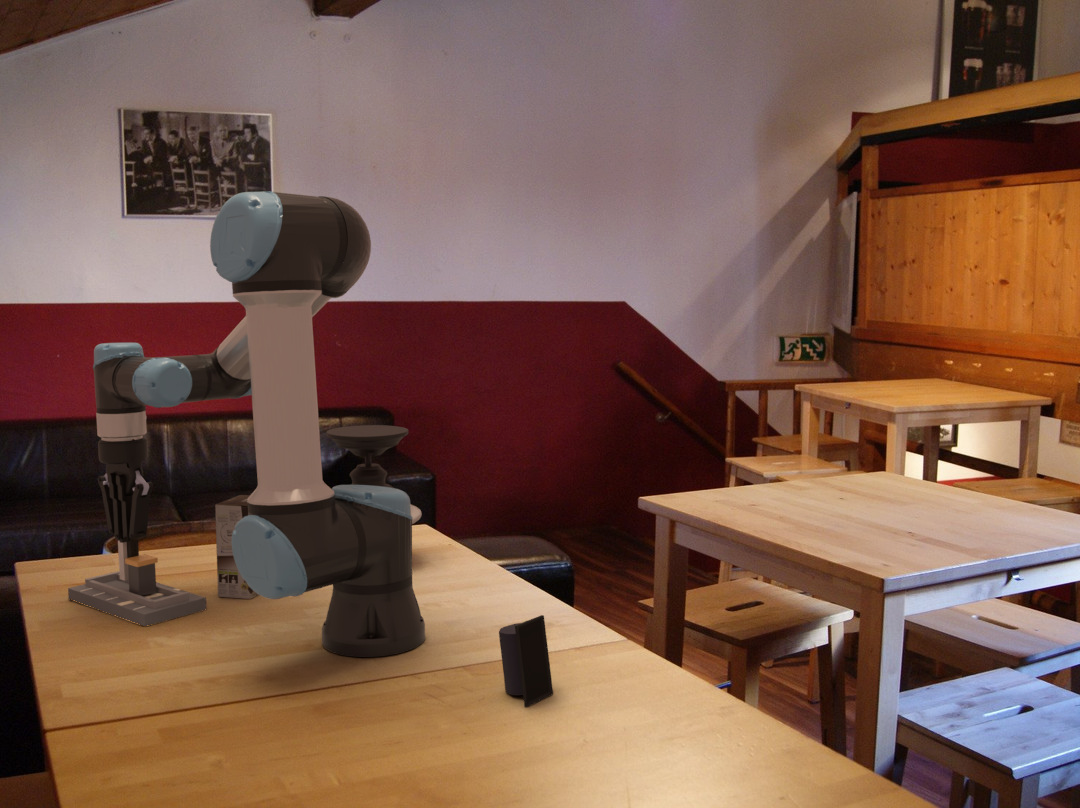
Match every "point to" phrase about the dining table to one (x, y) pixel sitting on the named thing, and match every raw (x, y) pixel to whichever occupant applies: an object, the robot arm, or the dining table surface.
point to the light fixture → (370, 452)
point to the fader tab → (142, 574)
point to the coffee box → (230, 548)
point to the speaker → (526, 660)
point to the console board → (136, 600)
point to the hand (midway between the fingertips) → (129, 578)
